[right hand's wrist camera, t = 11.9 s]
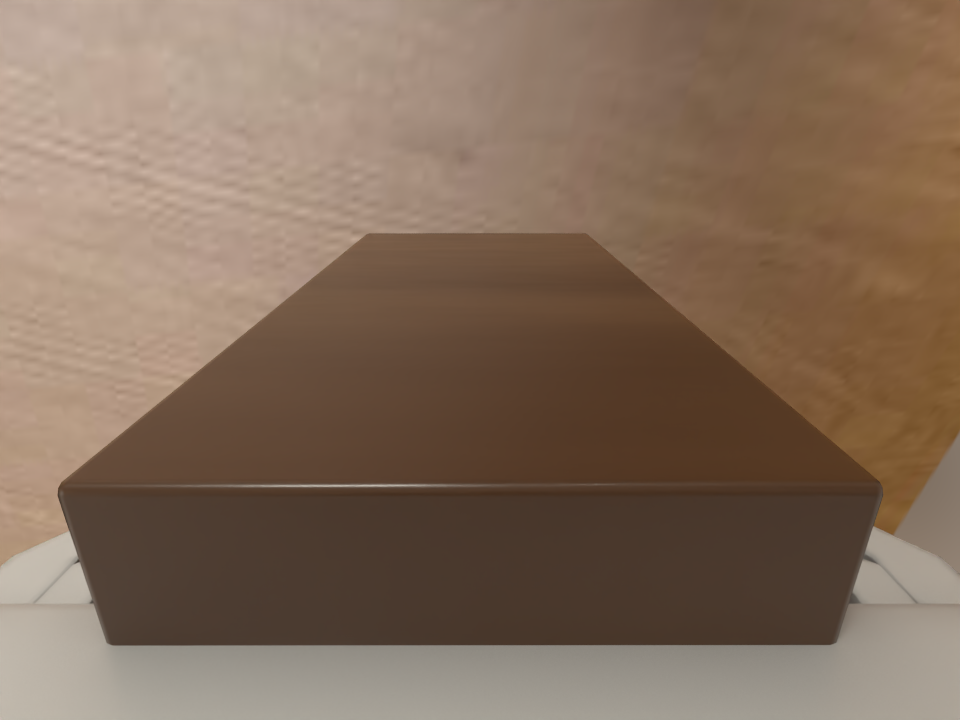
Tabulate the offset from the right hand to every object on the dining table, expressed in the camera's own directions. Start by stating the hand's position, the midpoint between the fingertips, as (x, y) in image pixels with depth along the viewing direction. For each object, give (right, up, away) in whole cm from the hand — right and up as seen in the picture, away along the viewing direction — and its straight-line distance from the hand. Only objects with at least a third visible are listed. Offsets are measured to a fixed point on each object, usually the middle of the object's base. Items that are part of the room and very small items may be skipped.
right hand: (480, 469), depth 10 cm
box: (0, -4, +8) cm, 9 cm away
